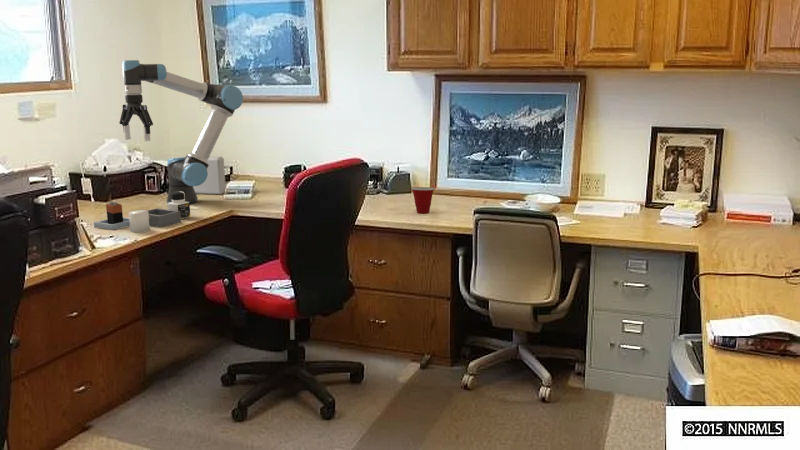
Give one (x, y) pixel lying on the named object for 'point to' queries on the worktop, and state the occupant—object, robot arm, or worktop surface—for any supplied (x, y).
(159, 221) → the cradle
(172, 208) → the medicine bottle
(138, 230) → the white rounded cylinder
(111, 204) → the battery
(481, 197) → the worktop surface
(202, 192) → the bevelled white case
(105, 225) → the tray
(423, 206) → the plastic cup
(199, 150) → the robot arm
